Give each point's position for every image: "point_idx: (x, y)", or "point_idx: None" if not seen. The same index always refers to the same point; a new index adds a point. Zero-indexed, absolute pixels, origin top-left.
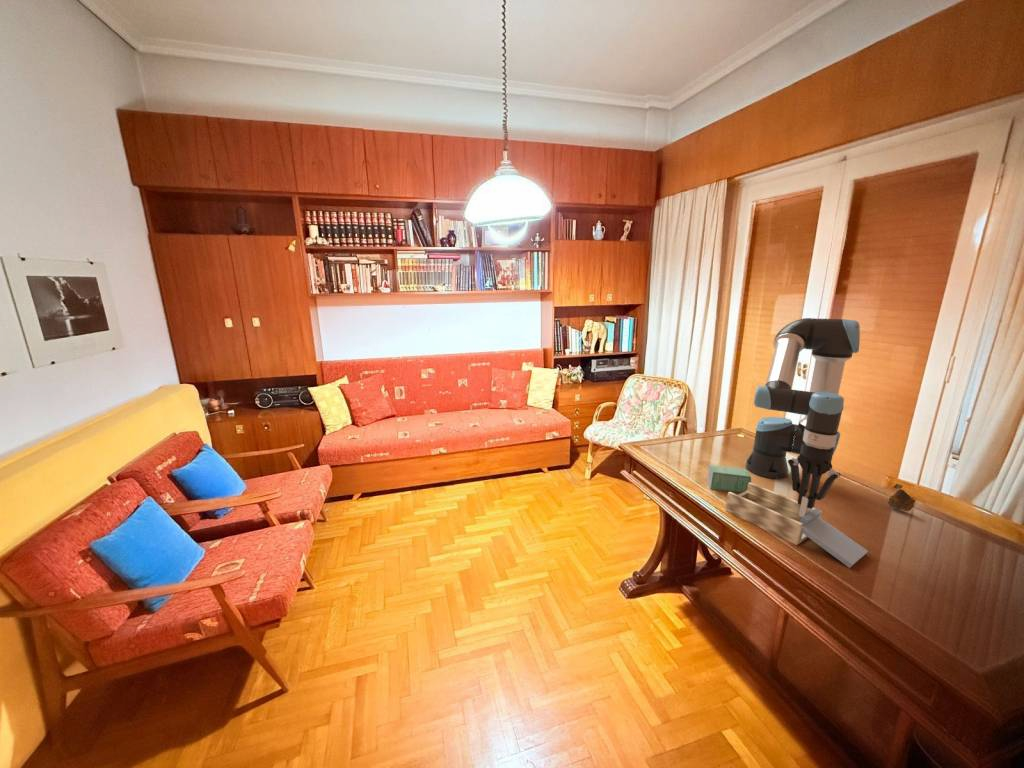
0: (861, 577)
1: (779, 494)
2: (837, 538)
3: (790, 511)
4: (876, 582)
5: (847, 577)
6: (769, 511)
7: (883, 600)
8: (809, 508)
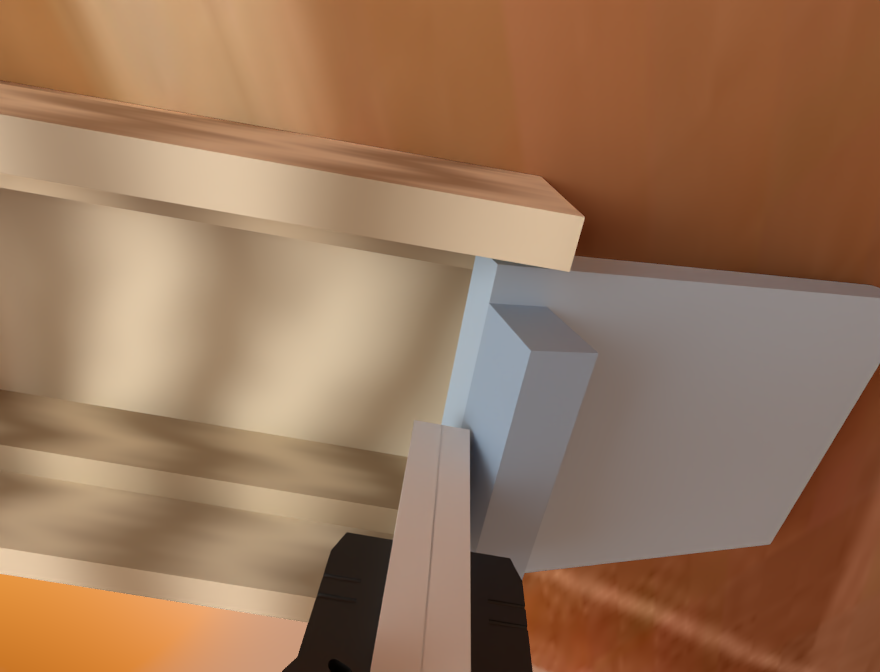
0: (793, 553)
1: (6, 128)
2: (711, 410)
3: (285, 235)
4: (863, 546)
5: (724, 594)
6: (200, 599)
7: (858, 648)
8: (468, 498)
